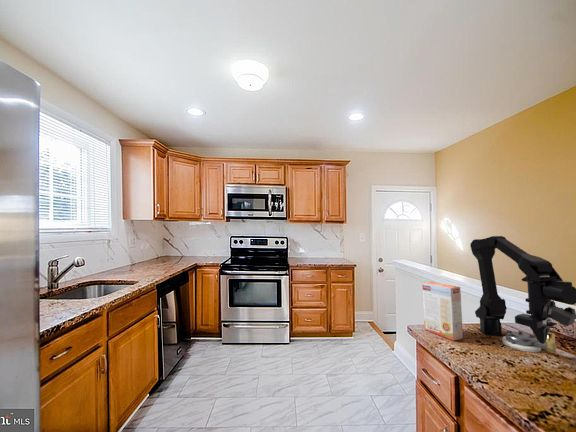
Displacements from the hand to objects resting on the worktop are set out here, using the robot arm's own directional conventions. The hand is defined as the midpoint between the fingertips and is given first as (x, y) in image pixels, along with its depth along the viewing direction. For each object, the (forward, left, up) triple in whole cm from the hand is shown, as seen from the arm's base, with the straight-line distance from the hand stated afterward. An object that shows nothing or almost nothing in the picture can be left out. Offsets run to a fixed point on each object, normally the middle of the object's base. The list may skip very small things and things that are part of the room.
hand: (542, 343), depth 92 cm
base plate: (0, +10, -5) cm, 12 cm away
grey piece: (+1, +8, -4) cm, 9 cm away
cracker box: (-24, +19, -5) cm, 31 cm away
